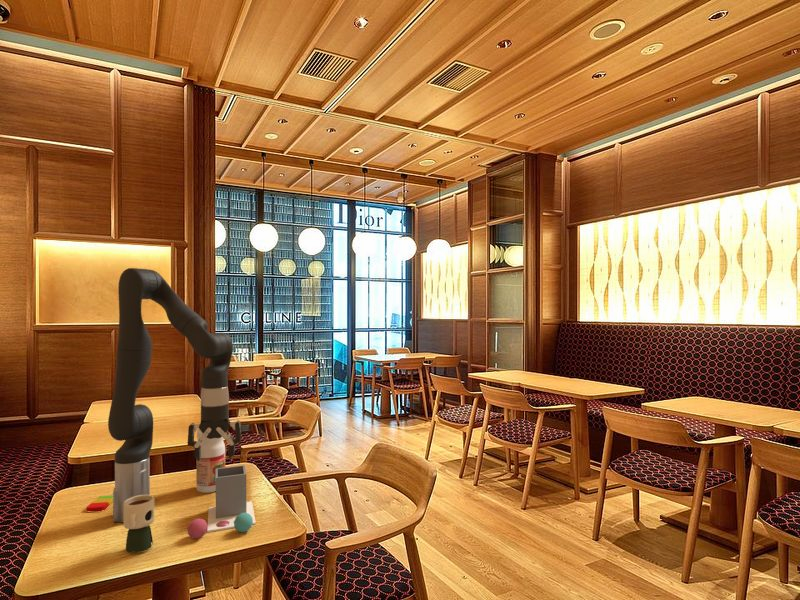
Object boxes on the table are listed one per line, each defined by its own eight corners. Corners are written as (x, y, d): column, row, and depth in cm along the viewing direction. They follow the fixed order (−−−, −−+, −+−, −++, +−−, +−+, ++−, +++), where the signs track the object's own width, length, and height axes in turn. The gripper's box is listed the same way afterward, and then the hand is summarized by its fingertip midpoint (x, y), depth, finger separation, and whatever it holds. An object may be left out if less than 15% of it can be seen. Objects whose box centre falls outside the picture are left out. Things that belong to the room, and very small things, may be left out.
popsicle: (84, 513, 146) (84, 507, 146) (107, 494, 160) (107, 489, 160) (103, 512, 146) (103, 506, 146) (124, 493, 161) (124, 488, 161)
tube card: (207, 532, 132) (207, 488, 132) (208, 509, 147) (208, 469, 147) (255, 524, 137) (255, 481, 137) (251, 502, 152) (251, 463, 152)
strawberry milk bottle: (201, 483, 168) (200, 405, 168) (228, 482, 169) (228, 404, 169) (192, 494, 159) (192, 411, 159) (221, 492, 160) (220, 410, 160)
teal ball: (234, 536, 130) (234, 518, 130) (233, 528, 134) (233, 511, 134) (253, 533, 131) (253, 515, 131) (252, 525, 136) (252, 508, 136)
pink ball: (187, 543, 126) (186, 524, 126) (188, 535, 131) (188, 517, 131) (207, 540, 128) (206, 521, 128) (207, 531, 133) (207, 514, 133)
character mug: (147, 558, 119) (147, 507, 119) (116, 562, 117) (116, 510, 117) (160, 537, 129) (159, 490, 130) (131, 540, 128) (131, 492, 128)
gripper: (185, 406, 130) (185, 465, 130) (239, 404, 133) (239, 461, 133) (191, 401, 137) (191, 456, 137) (242, 398, 140) (242, 453, 140)
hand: (215, 458), depth 135 cm, fingers open, 8 cm apart
